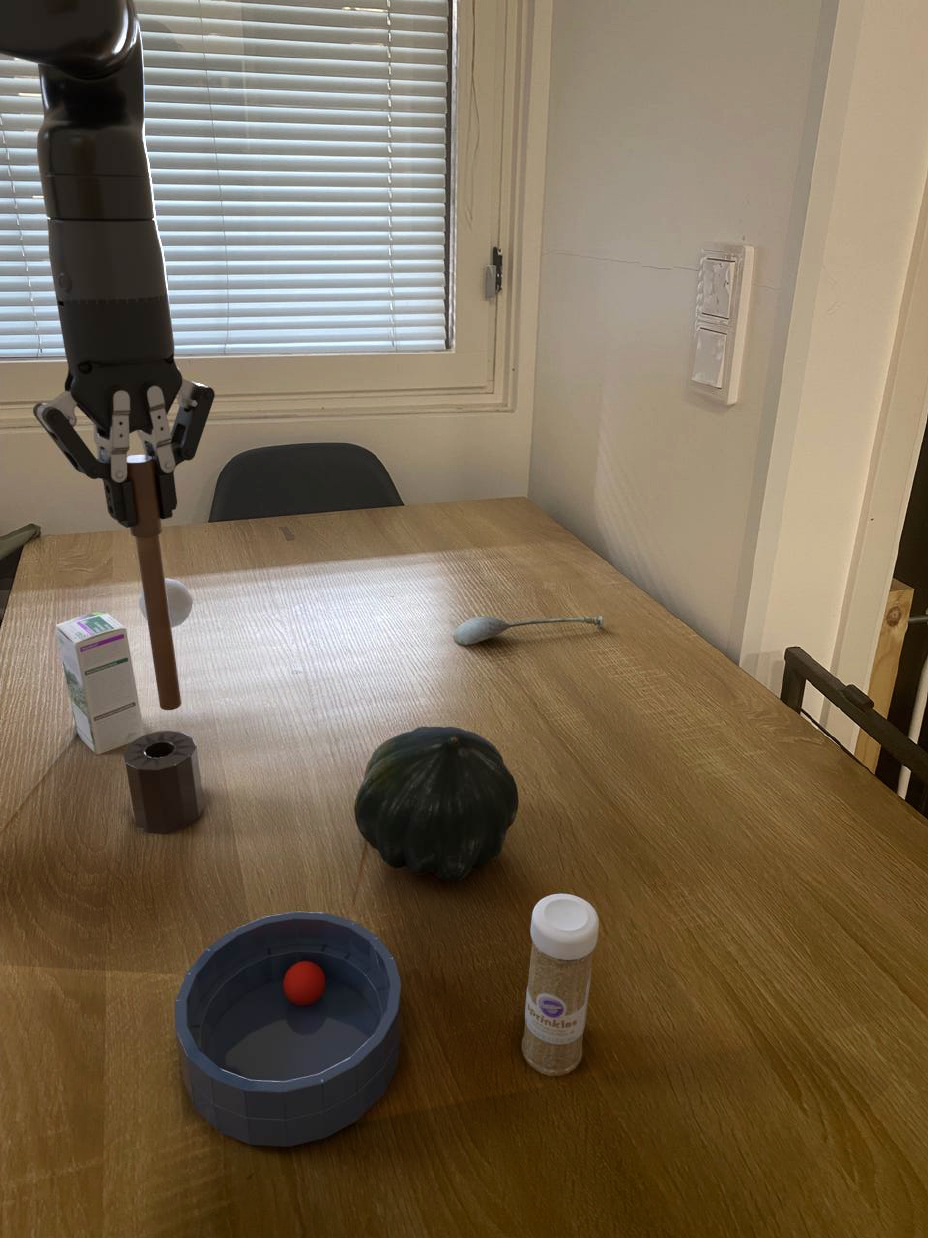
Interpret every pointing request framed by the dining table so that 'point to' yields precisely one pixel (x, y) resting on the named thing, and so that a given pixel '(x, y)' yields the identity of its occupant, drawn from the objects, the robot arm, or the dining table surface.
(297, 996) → the cherry tomato
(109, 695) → the syrup box
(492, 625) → the soupspoon
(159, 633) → the stirring stick
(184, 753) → the crock
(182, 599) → the lollipop
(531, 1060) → the sprinkles bottle
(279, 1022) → the bowl
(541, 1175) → the dining table surface
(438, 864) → the squash
